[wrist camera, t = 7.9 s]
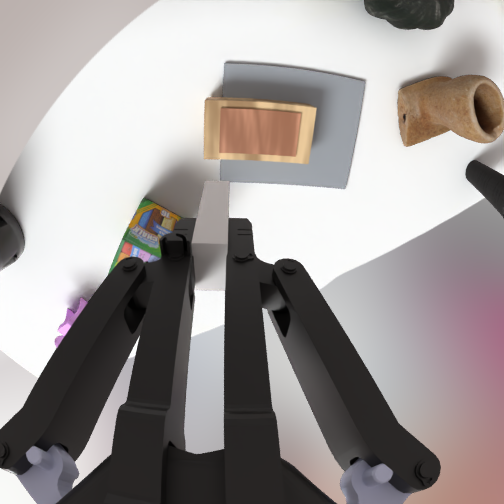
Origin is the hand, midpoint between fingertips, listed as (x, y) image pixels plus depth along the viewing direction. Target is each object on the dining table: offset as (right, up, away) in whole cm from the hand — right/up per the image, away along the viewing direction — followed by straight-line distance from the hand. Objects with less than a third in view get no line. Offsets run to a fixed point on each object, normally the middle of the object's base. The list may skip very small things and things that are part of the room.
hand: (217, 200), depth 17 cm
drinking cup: (+47, +13, +24) cm, 54 cm away
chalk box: (-14, +1, +29) cm, 33 cm away
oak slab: (-4, +13, +17) cm, 22 cm away
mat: (+8, +15, +20) cm, 26 cm away
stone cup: (+30, +22, +17) cm, 41 cm away
